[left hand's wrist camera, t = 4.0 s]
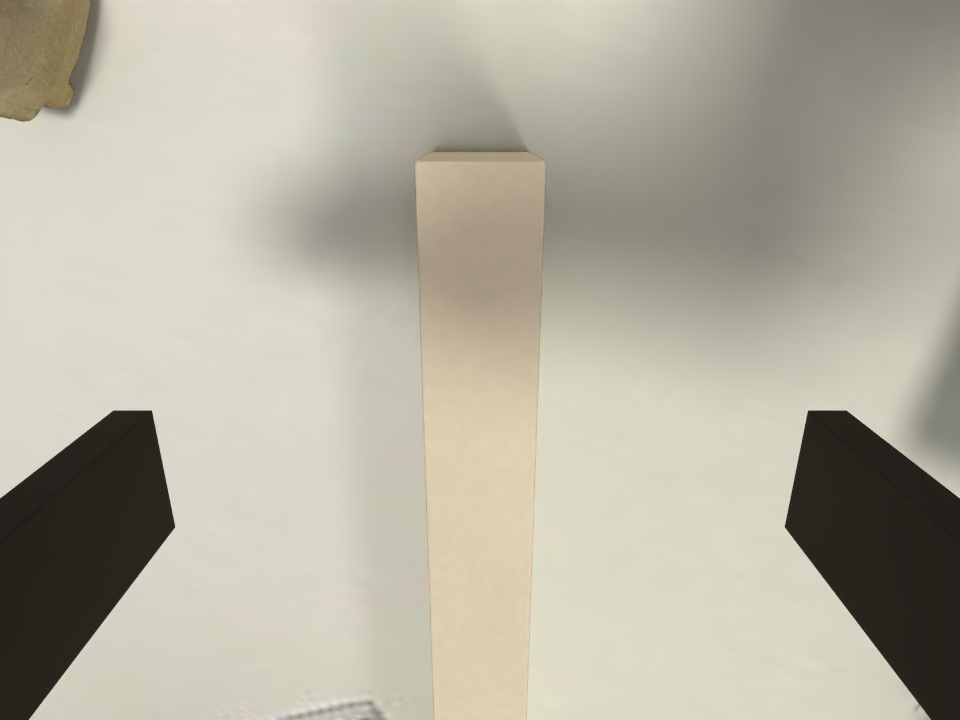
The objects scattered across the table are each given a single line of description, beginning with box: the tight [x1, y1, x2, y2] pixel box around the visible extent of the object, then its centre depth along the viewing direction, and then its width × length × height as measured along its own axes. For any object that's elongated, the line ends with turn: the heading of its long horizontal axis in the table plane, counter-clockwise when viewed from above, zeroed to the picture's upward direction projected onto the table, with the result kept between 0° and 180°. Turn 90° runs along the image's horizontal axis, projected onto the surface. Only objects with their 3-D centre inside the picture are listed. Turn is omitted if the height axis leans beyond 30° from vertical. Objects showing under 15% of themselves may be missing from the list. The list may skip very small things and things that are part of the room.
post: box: [415, 152, 546, 720], centre depth 36 cm, size 57×5×8 cm, turn 0°
